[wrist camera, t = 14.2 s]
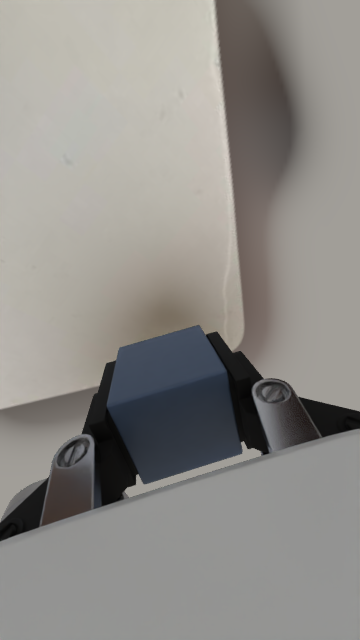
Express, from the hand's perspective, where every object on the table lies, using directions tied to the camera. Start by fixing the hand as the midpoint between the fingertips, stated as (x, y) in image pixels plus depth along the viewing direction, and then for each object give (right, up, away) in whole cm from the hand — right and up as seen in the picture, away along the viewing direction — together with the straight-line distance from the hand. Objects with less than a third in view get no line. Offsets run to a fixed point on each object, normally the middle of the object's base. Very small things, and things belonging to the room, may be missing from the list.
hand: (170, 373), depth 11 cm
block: (0, 0, 0) cm, 0 cm away
